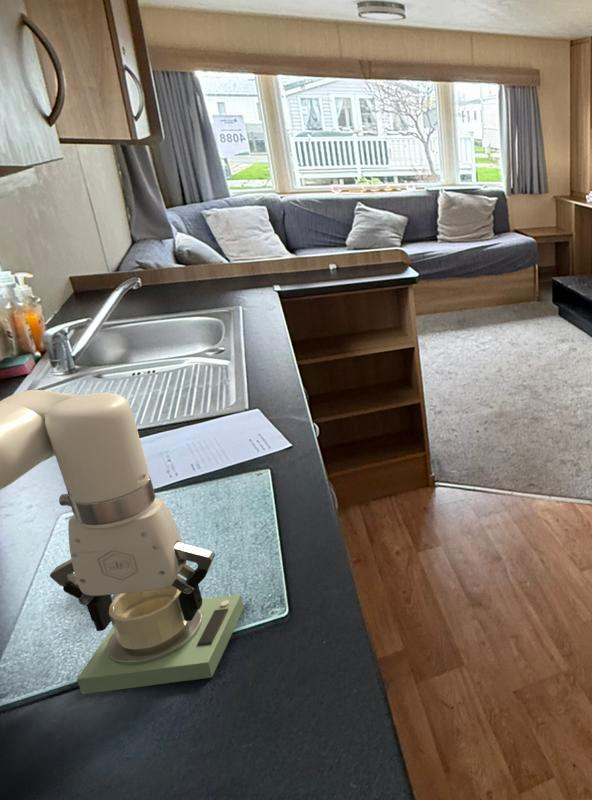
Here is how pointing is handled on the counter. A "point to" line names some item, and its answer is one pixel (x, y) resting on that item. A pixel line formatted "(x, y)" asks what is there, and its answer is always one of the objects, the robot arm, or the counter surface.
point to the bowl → (146, 617)
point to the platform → (157, 652)
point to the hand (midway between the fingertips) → (150, 617)
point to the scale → (179, 666)
